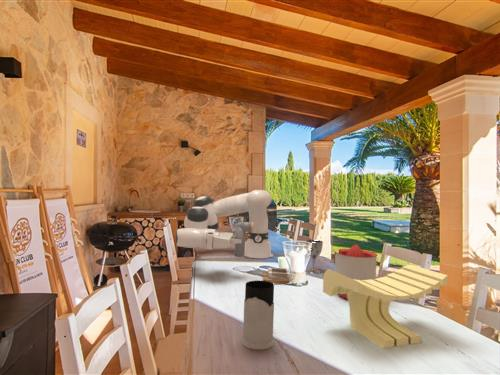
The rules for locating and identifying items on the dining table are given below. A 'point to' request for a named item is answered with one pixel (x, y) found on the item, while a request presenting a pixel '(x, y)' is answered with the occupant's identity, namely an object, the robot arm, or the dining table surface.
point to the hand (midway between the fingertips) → (242, 240)
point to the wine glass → (315, 253)
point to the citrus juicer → (355, 264)
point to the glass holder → (258, 315)
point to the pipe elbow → (242, 236)
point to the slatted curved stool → (383, 301)
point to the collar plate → (277, 275)
